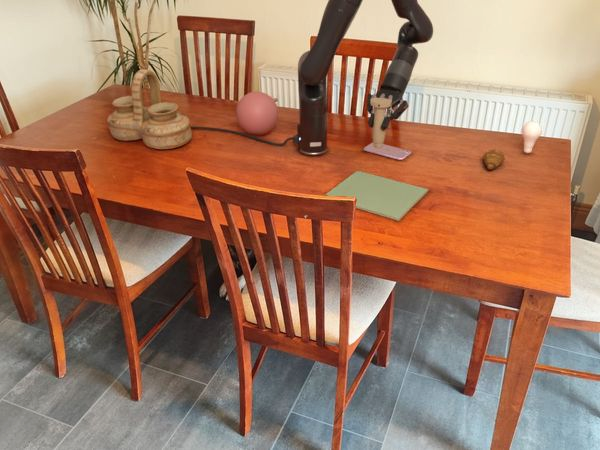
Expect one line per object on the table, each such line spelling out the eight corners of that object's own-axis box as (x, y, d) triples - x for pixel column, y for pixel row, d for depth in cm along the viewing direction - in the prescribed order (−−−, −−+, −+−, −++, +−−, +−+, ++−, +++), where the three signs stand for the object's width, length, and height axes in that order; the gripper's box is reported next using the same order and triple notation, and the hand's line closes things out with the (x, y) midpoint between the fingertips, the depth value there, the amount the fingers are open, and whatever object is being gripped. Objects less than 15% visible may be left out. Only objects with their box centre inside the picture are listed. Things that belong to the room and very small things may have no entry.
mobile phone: (373, 140, 193) (412, 150, 185) (373, 143, 193) (412, 153, 185) (362, 148, 187) (401, 158, 180) (362, 150, 188) (401, 161, 180)
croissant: (500, 173, 171) (503, 159, 169) (478, 170, 174) (480, 155, 171) (506, 157, 182) (509, 143, 179) (485, 153, 184) (488, 140, 181)
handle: (370, 142, 175) (372, 96, 167) (389, 145, 173) (393, 99, 165) (366, 148, 172) (368, 101, 164) (386, 151, 169) (389, 104, 162)
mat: (323, 198, 160) (323, 195, 160) (357, 172, 174) (357, 170, 174) (398, 221, 148) (398, 218, 148) (428, 191, 162) (428, 189, 162)
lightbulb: (536, 150, 186) (543, 119, 180) (536, 157, 181) (544, 126, 175) (517, 148, 187) (523, 117, 182) (517, 155, 182) (523, 124, 177)
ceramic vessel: (98, 138, 202) (83, 71, 189) (134, 122, 216) (122, 58, 203) (169, 156, 187) (158, 84, 174) (203, 137, 201) (195, 69, 188)
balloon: (295, 127, 208) (294, 87, 200) (260, 144, 194) (257, 102, 186) (264, 119, 216) (262, 80, 208) (229, 135, 203) (225, 94, 195)
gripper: (373, 68, 170) (352, 118, 167) (415, 75, 163) (394, 127, 161) (379, 81, 176) (359, 128, 174) (421, 88, 169) (400, 138, 167)
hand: (376, 127), depth 167 cm, fingers closed on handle, 3 cm apart
